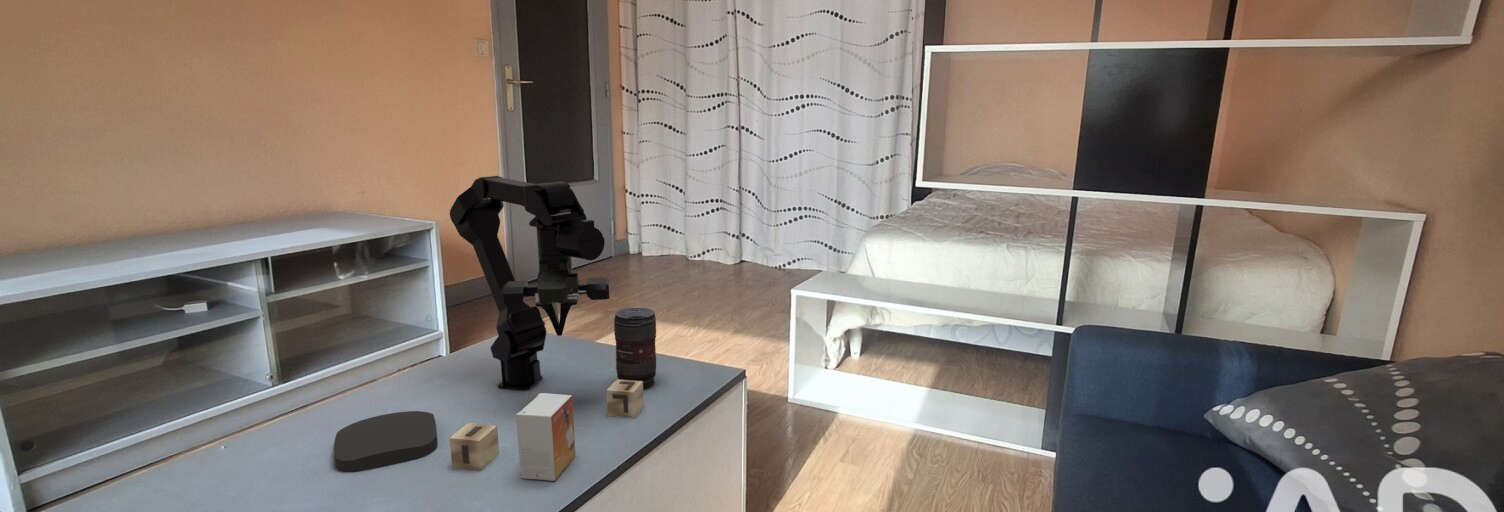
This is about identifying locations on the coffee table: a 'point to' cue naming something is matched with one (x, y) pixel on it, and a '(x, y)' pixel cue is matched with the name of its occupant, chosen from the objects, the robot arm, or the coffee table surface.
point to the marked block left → (474, 446)
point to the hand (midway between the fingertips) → (559, 335)
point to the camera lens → (635, 345)
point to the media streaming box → (385, 440)
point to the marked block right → (625, 398)
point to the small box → (546, 436)
